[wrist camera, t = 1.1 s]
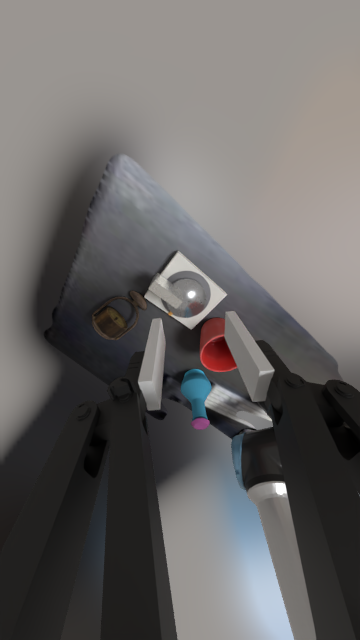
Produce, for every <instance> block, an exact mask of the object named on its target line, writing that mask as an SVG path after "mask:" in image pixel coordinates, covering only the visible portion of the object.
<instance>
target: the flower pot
mask: <svg viewBox="0 0 360 640" xmlns="http://www.w3.org/2000/svg"><path fill="white" fill-rule="evenodd" d="M224 333H225V319H222V318H212V319H209V320H208V321H206V322H205V323H204V324H203V326H202V328H201V337H200V360H201V362H202V364H203V365H204V366H205V367H206V368H207V369H209V370H211V371H215V372H226V371H230V370H233V369H235V368H237V365H236V363H235V360H234V358H233V356H232V353H231V351H230V349H229V347H228V344H227V342H226V340H225V337H224Z"/></svg>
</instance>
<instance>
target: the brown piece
mask: <svg viewBox="0 0 360 640" xmlns="http://www.w3.org/2000/svg"><path fill="white" fill-rule="evenodd" d="M130 296H131V297H132V298H133V301H132V300H130V299H128V298H126V297H115V298H112V299H110V300H109V301H108V302H106V303H105V304H104V305H103V306H101V307H100V308H99V309H98V310H96V311H95V312H94V313H93V314H92V324H93V327H94V328H95V330H96V331H97V333H98V334H100V335H101V336H102V337H104V338H106V339H109V340H112V339H113V340H118V339H119V338H120V337H122V336H123V335H124V334H126V333H127V332H128V331H130V330H131V329H132V328H133V327H134V326H135V325H136V324H137V321H138V319H139V311H138V308H137V306H139V307H140V308H141V309H142V310H146V309H147V304H146V301H145V299H144V297H143V296H142V295H141V294H139V293H137V292H136V291H131V292H130ZM116 299H124V300H127V301H129V302H130V303H131V304H132V305H133V306H134V308H135V310H136V314H137V317H136V321H135V323H134V324H133V325H132V326H131V327H130V328H128V329H127V323H126V321H125V319H124V318H123V316H122V315H121V314H120V313H119V312H118V311H116V310H115V309H114V308H112V307H107V308H106V309H104V310H103V311H102V312H100V313H99V314H98V315H97V316H96V315H95V314H97V313H98V312H99V311H101V310H102V309H103V308H104V307H105V306H107V305H108V304H109V303H110V302H111V301H113V300H116Z"/></svg>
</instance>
